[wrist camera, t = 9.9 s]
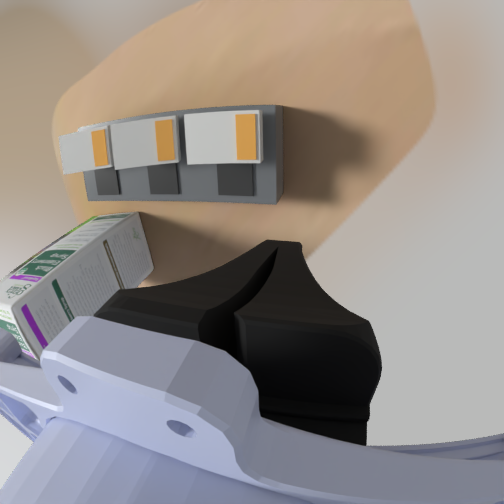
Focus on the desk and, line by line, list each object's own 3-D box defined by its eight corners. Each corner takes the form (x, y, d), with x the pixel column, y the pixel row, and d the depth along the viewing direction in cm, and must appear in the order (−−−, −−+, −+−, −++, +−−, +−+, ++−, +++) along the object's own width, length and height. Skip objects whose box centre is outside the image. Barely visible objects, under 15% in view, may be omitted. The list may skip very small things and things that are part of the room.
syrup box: (139, 209, 25) (6, 303, 12) (157, 270, 27) (54, 384, 14) (93, 215, 26) (-26, 295, 13) (111, 270, 29) (12, 363, 16)
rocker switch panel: (283, 191, 21) (274, 208, 18) (110, 190, 24) (82, 203, 21) (282, 105, 18) (273, 104, 15) (102, 123, 22) (71, 129, 19)
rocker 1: (118, 163, 19) (111, 167, 18) (71, 170, 19) (62, 175, 18) (114, 124, 18) (106, 125, 17) (67, 134, 18) (57, 136, 17)
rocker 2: (181, 159, 18) (178, 162, 17) (120, 166, 18) (114, 170, 17) (178, 115, 17) (175, 115, 16) (116, 123, 16) (109, 125, 15)
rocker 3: (263, 159, 16) (260, 163, 15) (194, 160, 17) (186, 165, 16) (262, 109, 15) (258, 109, 14) (191, 113, 16) (183, 114, 15)
